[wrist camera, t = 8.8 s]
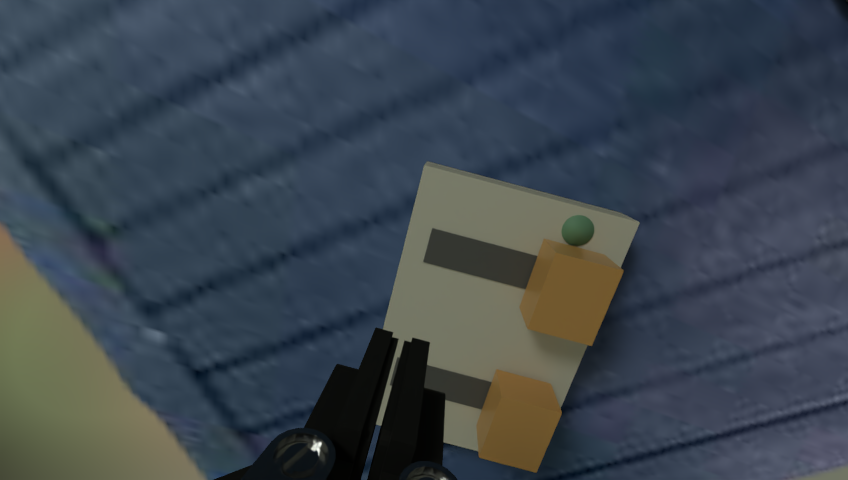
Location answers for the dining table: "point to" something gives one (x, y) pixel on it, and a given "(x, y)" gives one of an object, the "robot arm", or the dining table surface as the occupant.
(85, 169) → the dining table surface
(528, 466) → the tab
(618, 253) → the switch panel
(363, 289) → the dining table surface
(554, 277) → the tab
